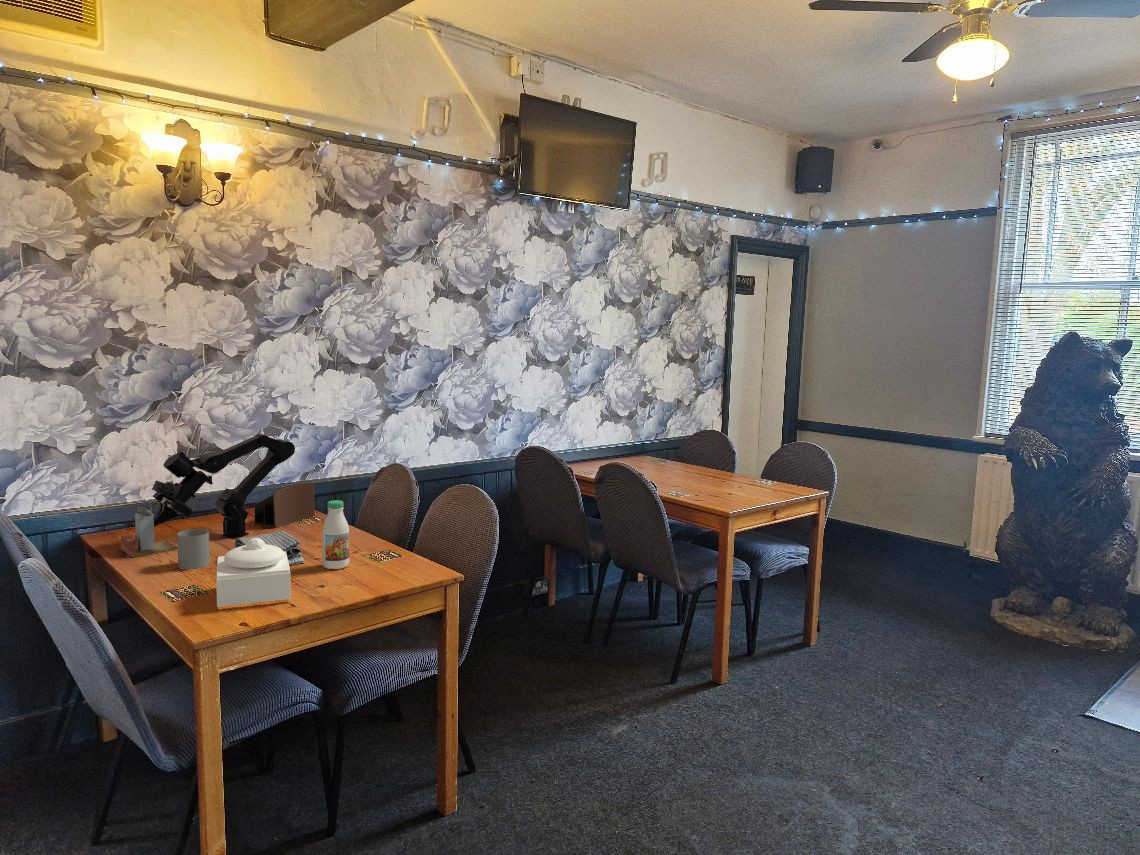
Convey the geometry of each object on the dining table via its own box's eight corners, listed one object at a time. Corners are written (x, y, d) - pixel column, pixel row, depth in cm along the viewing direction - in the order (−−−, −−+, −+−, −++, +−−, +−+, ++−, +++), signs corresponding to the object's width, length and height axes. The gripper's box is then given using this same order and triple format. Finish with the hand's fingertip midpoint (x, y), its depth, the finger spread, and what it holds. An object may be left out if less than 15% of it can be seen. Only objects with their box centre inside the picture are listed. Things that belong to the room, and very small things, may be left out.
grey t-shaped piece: (148, 544, 245) (146, 504, 243) (157, 549, 240) (155, 509, 238) (134, 546, 242) (132, 506, 241) (143, 552, 237) (141, 511, 235)
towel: (282, 550, 247) (281, 526, 246) (305, 565, 234) (305, 540, 233) (233, 558, 237) (232, 534, 236) (254, 574, 224) (254, 548, 223)
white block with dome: (217, 610, 195) (215, 549, 193) (218, 587, 212) (216, 531, 209) (290, 603, 202) (289, 544, 200) (286, 581, 219) (285, 526, 216)
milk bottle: (317, 568, 230) (316, 502, 227) (333, 561, 237) (332, 497, 235) (338, 572, 228) (338, 505, 225) (354, 564, 235) (354, 500, 232)
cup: (174, 564, 229) (172, 532, 228) (202, 559, 235) (201, 527, 234) (185, 571, 223) (184, 538, 222) (214, 565, 229) (213, 533, 228)
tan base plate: (166, 543, 250) (166, 528, 249) (177, 549, 244) (176, 534, 243) (120, 551, 240) (119, 535, 239) (130, 557, 234) (129, 541, 233)
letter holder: (315, 517, 289) (314, 480, 287) (274, 529, 271) (274, 489, 269) (294, 513, 293) (294, 477, 291) (253, 525, 275) (253, 486, 273)
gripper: (158, 466, 250) (121, 504, 243) (180, 475, 237) (142, 516, 230) (184, 487, 256) (149, 525, 250) (207, 497, 244) (171, 537, 237)
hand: (152, 525), depth 242 cm, fingers closed, pressing on grey t-shaped piece
